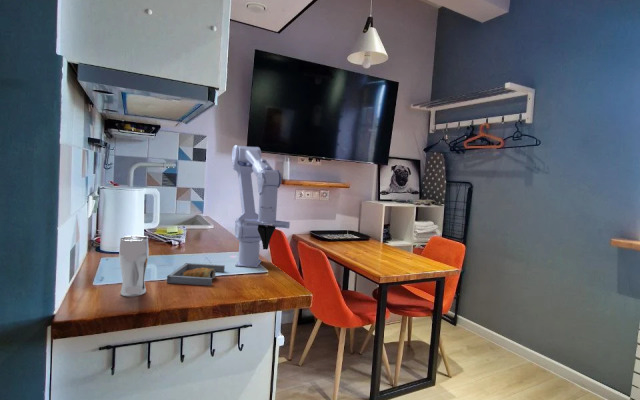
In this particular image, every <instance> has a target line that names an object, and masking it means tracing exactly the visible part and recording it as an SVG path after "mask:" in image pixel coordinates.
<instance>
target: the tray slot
mask: <svg viewBox="0 0 640 400" xmlns="http://www.w3.org/2000/svg"><path fill="white" fill-rule="evenodd" d="M196 268H208V269H212V268H213V269H214V270H215V271H219V272H218V273H224V272H225V265H221V264H207V263H190V262H185V263H184V264H183V265H181V266H179V267H178V268H177V269H175V270H174V271H172V272H171V273H169V274H168V275H167V276H166V283H167V284H180V285H193V286H194V285H196V286H208V287H209V286H212V285H213V279H212V278H204V277H188V276H183V273H184V272H186V271H188V270H193V269H196Z"/></svg>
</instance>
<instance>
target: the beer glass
mask: <svg viewBox="0 0 640 400" xmlns="http://www.w3.org/2000/svg"><path fill="white" fill-rule="evenodd" d="M119 239H120V240H119V252H118V253H119V255H118V257H119V258H118V259H119V266H120V271H121V277H122V284H121V289H120V295H121V296H122V297H129V298H132V297H134V298H135V297H140V296H143V295H145V294H146V292H147V288H146V284H145V283H146V282H145V277H146V271H147V267H148V261H149V250H150V249H149V237H148V236H145V235H144V236H143V235H126V236H123V237H121V238H119Z"/></svg>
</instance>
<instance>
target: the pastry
mask: <svg viewBox="0 0 640 400" xmlns="http://www.w3.org/2000/svg"><path fill="white" fill-rule="evenodd" d="M182 276H188V277H204V278H212V280H213V279H215V277H216V272H215V270H214V269H213V268H212V269H208V268H196V269H193V270H187V271H186V272H184V273H183V274H182Z"/></svg>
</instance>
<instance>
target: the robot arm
mask: <svg viewBox="0 0 640 400" xmlns="http://www.w3.org/2000/svg"><path fill="white" fill-rule="evenodd" d="M231 150H232V151H231V161H232V169H233V170H234V171H236V172H237V178H238V185H239V186H238V187H239V196H240V197H239V198H240V206H241V214H240V215H239V216H238V217H237V218H236V220H235V221H234V236H235V238H236V239H237V240H238V241H239V242H238V243H239V245H238V261H237V262H236V263H235V265H234V266H236V267H247V268H248V267H249V268H258V267H259V266H260V264H261V262H262V261H263V260H262V259H261V258H260V252H261V251H260V249H261V248H260V247H261V245H260V244H261V243H262V250H268V249H269V246H270V241H271V238H272V236H273V234H274V232H275V230H276V228H282V229H290V226H291V225H290V224H291V223H290V221H285V220H277V211H278V209H277V208H278V191H279V190H278V189H279V188H280V187H281V184H282V173H281V172H280V170H279V169H273V167H272V166H271V165H270V163H269V162H268V161H267V160H266V158H265V159H264V158H262V150H261V148H260V147H259V146H244V145H237V144H235V145H234V146H233V147H232V149H231ZM252 173H254V174H255V176H256V178H257V179H256V181H257V183H256V184H257V192H258V193H259V196H258V211H257V212H256V207H255V198H254V188H253V181H252V180H253V179H252ZM260 242H261V243H260ZM258 265H259V266H258Z"/></svg>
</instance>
